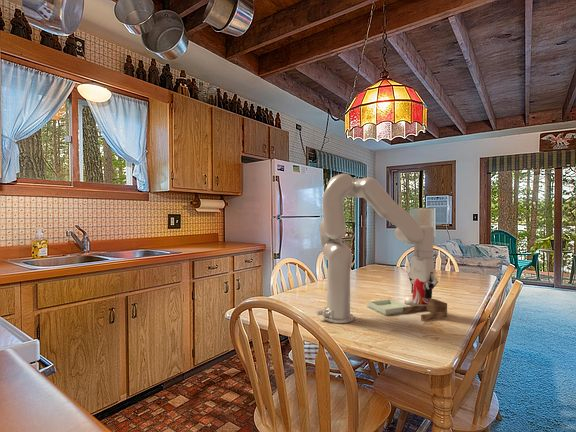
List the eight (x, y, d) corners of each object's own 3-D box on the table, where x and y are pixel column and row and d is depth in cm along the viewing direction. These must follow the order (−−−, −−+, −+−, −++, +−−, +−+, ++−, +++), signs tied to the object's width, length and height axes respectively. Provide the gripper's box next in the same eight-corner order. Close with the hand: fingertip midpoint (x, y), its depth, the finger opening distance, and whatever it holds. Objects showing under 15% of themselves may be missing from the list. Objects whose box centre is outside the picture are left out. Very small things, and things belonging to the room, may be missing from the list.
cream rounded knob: (411, 307, 154) (411, 299, 154) (401, 302, 160) (401, 295, 160) (423, 305, 157) (423, 298, 157) (412, 301, 163) (412, 294, 163)
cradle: (422, 321, 134) (423, 306, 134) (402, 312, 145) (402, 299, 145) (447, 317, 139) (447, 303, 139) (425, 309, 150) (425, 296, 150)
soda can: (419, 307, 137) (420, 278, 137) (408, 302, 144) (409, 275, 144) (433, 306, 139) (434, 278, 139) (422, 301, 146) (423, 274, 146)
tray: (385, 315, 141) (385, 309, 141) (367, 307, 153) (367, 301, 153) (409, 312, 146) (409, 306, 146) (389, 304, 158) (389, 298, 158)
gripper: (402, 251, 148) (400, 291, 148) (432, 257, 132) (430, 301, 132) (415, 251, 150) (413, 290, 151) (446, 257, 134) (444, 300, 135)
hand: (421, 295), depth 141 cm, fingers closed on soda can, 7 cm apart
